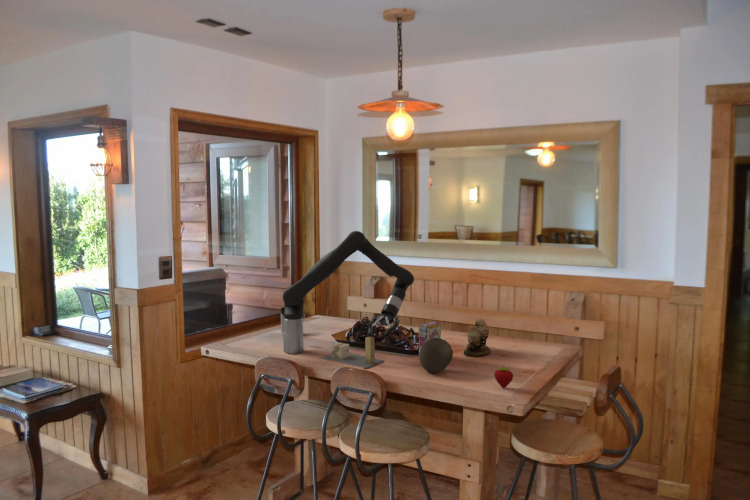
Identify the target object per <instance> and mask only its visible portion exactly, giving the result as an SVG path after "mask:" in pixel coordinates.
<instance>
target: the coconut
mask: <svg viewBox="0 0 750 500" xmlns="http://www.w3.org/2000/svg"><path fill="white" fill-rule="evenodd" d="M453 354H454V351H453V348H452V346H451V344H450V343H449V342H448V341H447V340H446V339H443V338H442V337H441V338H431V339H429V340H427V341H426V342H425V343H424V344H423V346H422V348H421V350H420V359H419V362H420V365H421V367H422V369H424V370H425V371H426V372H429V373H430V374H436V373H440V372H442V371H444V370H445V369H447V367H448V366H449V365H450V364H451V362H452V360H453V357H454V355H453Z"/></svg>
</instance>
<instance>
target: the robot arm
mask: <svg viewBox="0 0 750 500" xmlns="http://www.w3.org/2000/svg"><path fill="white" fill-rule="evenodd" d="M357 251H358V252H360V253H362V254H363V255H364V256H365V257H366V258H368V259H369V260H370V261H371V262H372V263H374V265H375V266H377V268H378V269H380V270H381V271H382V272H383V273H384V274H385V275H387V276H388V277H390V278H391V277H395V278H396V280H395V282H394V285H393V289H392V290H391V292H390V294H389V296H388V298H387V299H386V300H385V304H384V305H383V307H382V310H381V313H380V315H377V314H376V313H375V314H374V315H373V317H372V319H371V320H370V321H369V325H370V330H369V334H370V335H371V336H373V335H374V334H375V332H376V329H377V328H379V327H381V326H386V327H387V328H386V331H385V332H384V337H385V338H386V339H387V338H388V337H389V336H390V334H391V333H392V331H394V332H395V331H397V329H398V327H399V324H400V319H399V318H398V317H397V316H398V314H399V312H400V309H401V307H402V304H403V302H404V300H405V298H406V293H407V290H408V289H409V287H410V286H411V285H412V284H413V283H414V281H415V277H414V275H413V273H412V272H411V271H409V269H406V268H404V267H402V266H401V265H398V264H397V263H396V262H395V261H393V260H392V259H391V258H389V257H388V256H387V255H385V254H384V253H383V252H381V251H380V250H379V249H378V248H377V247H376V246H374V245H373V244H372V243H371V242H370V241H369V240H368V238H367V237H366V236H365V234H364V233H363V232H362V231H359V230H354V231H351V232H350V233H349V234H348V235H347V236H346V237H345V239H344V240H342V242H340V244H339V245H337V246H336V247H335V248H334V249H332V250H331V251H330V252H328V253H326V254H325V255H324V256H323V257H321V258H320V259H319V260H317V262H315V263H314V264H313V265H312V266H311V267H310V268H309V270H307V272H306V273H305V274H304V276H302V278H300V279H299V280H298V281H296V282H295V283H294V284H293V285H289V286H288V287H286V288H285V290H284V292H283V294H282V300H283V303H284V304H283V305H284V307H285V308H284V307H283V308H284V327H285V332H284V333H283V336H282V337H283V352H285V353H286V354H290V355H291V354H293V355H294V354H295V355H296V354H301V353H304V352H305V351H304V349H305V347H304V321H303V319H304V311H303V310H304V303H303V302H304V298H305V297H306V295H307V294H308V293H309V292H311V291H312V290H313V289H315V287H317V286H318V285H320V284H321V283H323V282H324V281H326V279H327V278H329V277H330V276H331V275H332V274H334V272H335V271H337V270H338V268H339V267H340V266H341V265H342V264H343V263H344V262H345V260H346V259H348V258H349V257H350V256H352V255H353V254H354V253H356V252H357Z"/></svg>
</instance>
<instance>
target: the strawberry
mask: <svg viewBox="0 0 750 500" xmlns="http://www.w3.org/2000/svg"><path fill="white" fill-rule="evenodd" d="M503 365H504V364H502V366H501V367H498V369H496V370H495V371H494V374H493V376H494V379H495V381H496V382H497V383H498V385H499V386H500V387H501V388H502V389H505V388H507V387H508V386H509V384H511V382H512V381H513V379H514V373H513V371H510V370H511V369H510V368H508V367H505V366H503Z"/></svg>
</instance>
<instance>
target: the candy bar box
mask: <svg viewBox="0 0 750 500" xmlns="http://www.w3.org/2000/svg"><path fill="white" fill-rule="evenodd" d="M441 327H442V323H441V322H437V321H430V322H426V323H422V324H418V359H419V360H420V350H421V348H422V346H423V344H424V343H425V342H426V341H427V340H429V339H431V338H441V339H442V337H441V332H442V328H441Z"/></svg>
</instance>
